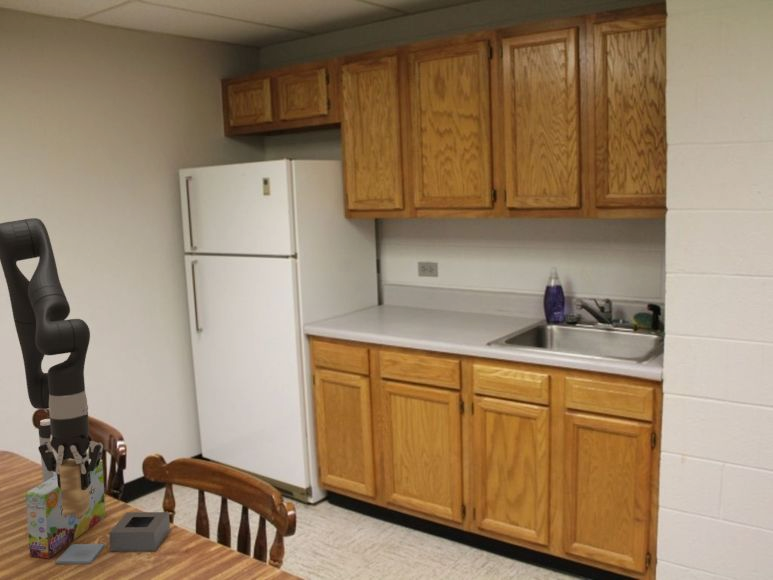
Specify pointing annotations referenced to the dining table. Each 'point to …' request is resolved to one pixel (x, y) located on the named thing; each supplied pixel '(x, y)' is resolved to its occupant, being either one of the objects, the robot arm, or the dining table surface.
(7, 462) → the dining table surface
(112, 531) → the socket block
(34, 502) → the snack box
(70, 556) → the rubber mat
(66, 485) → the square peg
